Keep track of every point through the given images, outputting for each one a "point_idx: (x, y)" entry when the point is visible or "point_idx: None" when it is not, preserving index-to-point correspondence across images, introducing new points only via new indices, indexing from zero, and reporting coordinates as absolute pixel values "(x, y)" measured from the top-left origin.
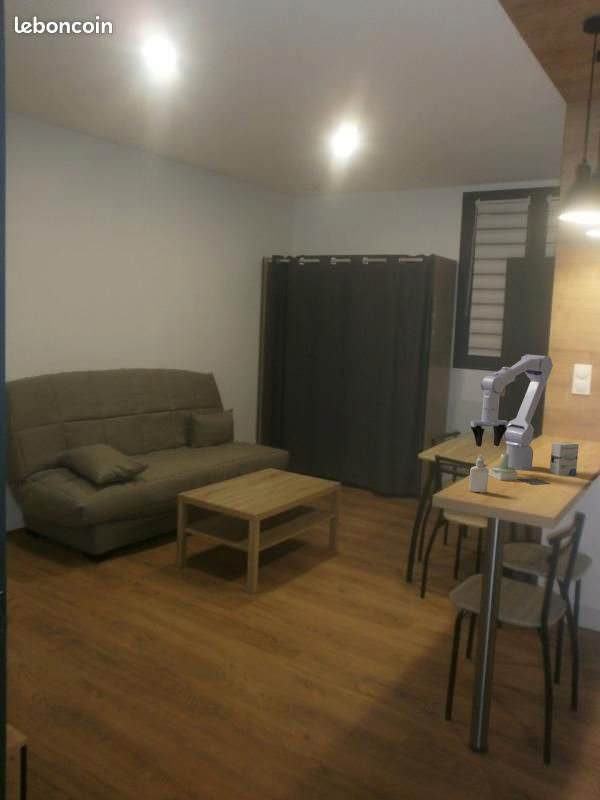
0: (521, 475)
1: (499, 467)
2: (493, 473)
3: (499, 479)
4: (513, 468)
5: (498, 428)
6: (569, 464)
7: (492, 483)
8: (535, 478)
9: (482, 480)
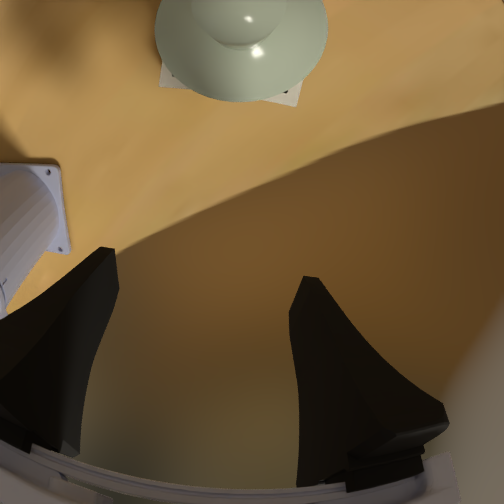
0: (75, 75)
1: (252, 53)
2: None
3: None
4: (170, 1)
5: (43, 415)
6: None
7: (382, 3)
8: None
9: None
